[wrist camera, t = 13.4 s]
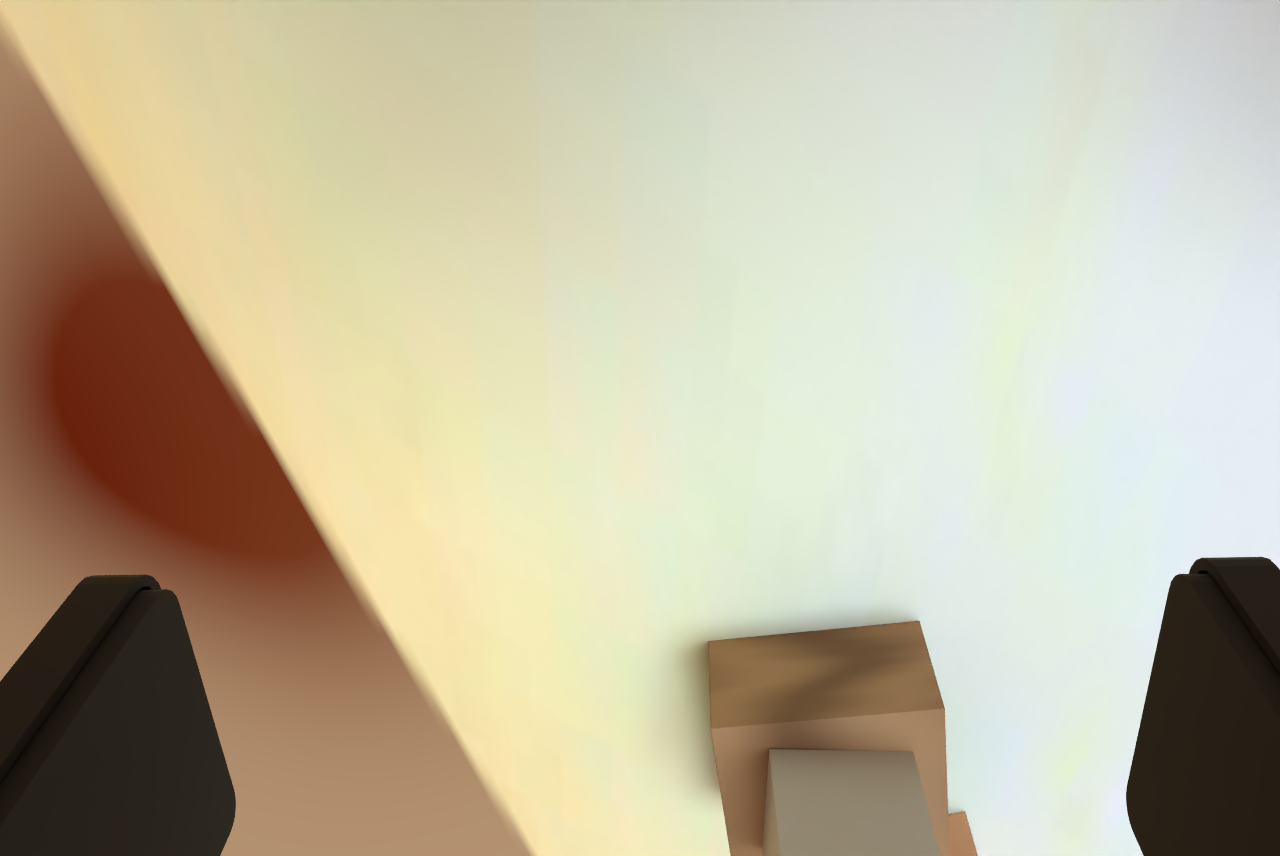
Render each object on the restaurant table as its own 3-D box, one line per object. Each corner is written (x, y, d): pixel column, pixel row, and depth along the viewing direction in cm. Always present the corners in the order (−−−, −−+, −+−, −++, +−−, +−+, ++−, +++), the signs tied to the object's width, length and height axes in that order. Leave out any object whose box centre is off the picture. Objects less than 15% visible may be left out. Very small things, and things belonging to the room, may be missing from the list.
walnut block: (918, 617, 43) (944, 708, 39) (925, 772, 47) (949, 871, 42) (708, 637, 44) (710, 729, 39) (731, 788, 47) (735, 887, 43)
